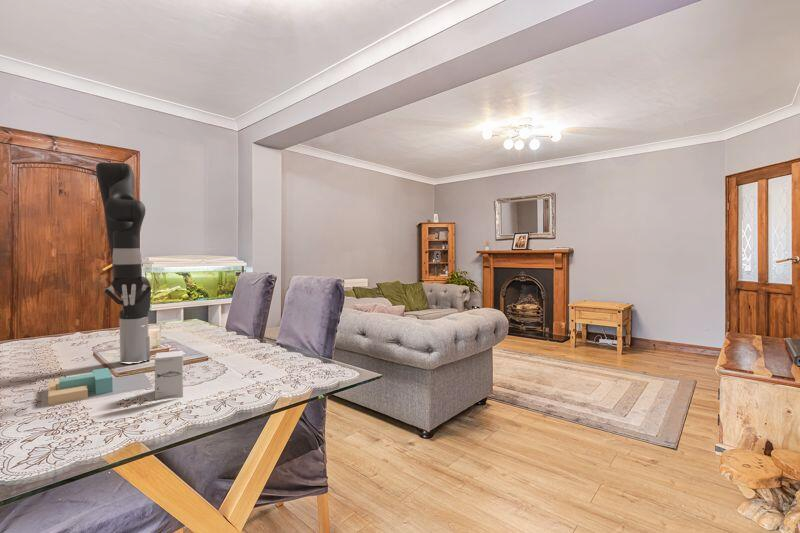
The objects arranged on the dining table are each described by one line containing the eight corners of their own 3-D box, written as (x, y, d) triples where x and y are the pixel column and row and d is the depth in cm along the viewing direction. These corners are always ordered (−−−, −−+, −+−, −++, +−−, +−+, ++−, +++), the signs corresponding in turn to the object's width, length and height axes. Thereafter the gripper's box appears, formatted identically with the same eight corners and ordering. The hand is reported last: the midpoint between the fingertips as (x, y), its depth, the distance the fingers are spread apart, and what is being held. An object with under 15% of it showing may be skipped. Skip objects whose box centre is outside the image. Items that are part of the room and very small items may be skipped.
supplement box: (154, 401, 115) (153, 358, 114) (156, 393, 122) (155, 352, 121) (183, 397, 118) (182, 355, 118) (183, 389, 125) (183, 349, 124)
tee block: (108, 381, 129) (108, 367, 128) (112, 391, 120) (112, 377, 119) (59, 389, 121) (59, 375, 121) (60, 401, 112) (59, 385, 111)
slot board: (144, 375, 138) (143, 365, 138) (153, 390, 124) (153, 379, 124) (43, 392, 121) (42, 381, 121) (40, 411, 107) (40, 398, 107)
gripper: (149, 261, 134) (150, 312, 135) (100, 262, 125) (102, 317, 126) (153, 262, 128) (155, 316, 129) (102, 263, 120) (104, 321, 121)
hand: (129, 316), depth 128 cm, fingers closed
